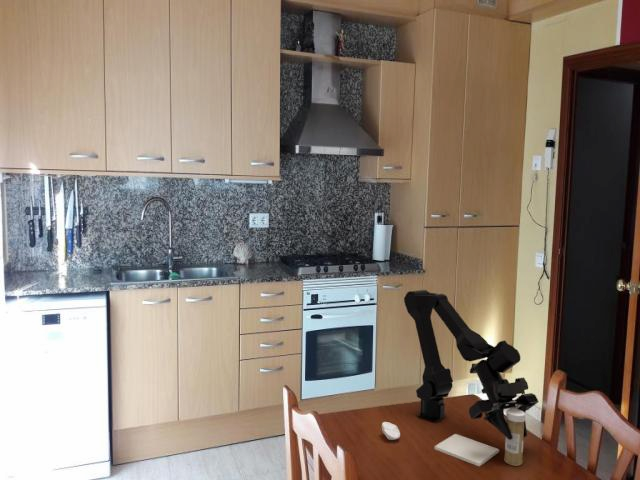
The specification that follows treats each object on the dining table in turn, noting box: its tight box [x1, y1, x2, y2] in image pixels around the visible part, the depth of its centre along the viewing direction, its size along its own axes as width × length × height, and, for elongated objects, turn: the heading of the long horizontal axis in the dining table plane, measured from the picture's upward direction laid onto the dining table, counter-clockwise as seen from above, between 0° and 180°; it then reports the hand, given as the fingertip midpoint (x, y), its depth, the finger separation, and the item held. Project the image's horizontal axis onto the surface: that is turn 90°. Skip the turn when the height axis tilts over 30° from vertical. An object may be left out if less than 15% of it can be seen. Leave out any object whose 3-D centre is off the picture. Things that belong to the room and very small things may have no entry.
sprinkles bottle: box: [503, 409, 526, 467], centre depth 141 cm, size 5×5×14 cm
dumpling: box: [381, 421, 401, 441], centre depth 154 cm, size 7×5×4 cm
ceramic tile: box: [434, 433, 500, 468], centre depth 148 cm, size 13×11×1 cm
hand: (518, 437), depth 140 cm, fingers closed on sprinkles bottle, 4 cm apart
